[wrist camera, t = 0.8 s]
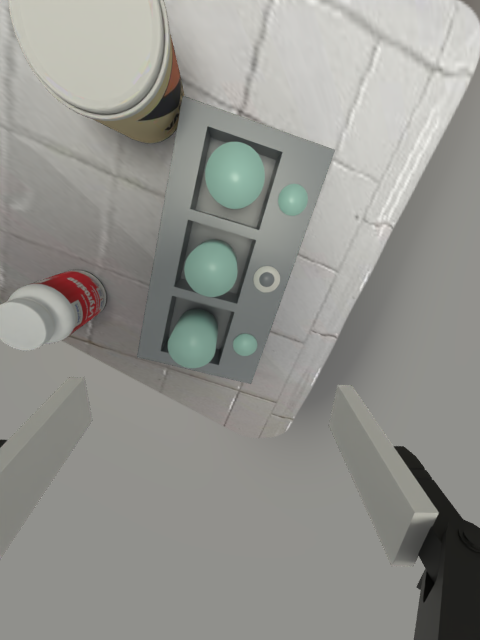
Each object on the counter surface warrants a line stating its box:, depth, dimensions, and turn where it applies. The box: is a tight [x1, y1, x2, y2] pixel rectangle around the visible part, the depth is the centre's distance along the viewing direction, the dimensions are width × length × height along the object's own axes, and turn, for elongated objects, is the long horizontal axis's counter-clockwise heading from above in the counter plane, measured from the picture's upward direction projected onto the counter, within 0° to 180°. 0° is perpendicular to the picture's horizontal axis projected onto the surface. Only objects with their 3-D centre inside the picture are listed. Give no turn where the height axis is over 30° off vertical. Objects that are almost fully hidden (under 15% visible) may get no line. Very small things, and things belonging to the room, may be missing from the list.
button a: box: [168, 309, 218, 368], centre depth 30 cm, size 5×5×5 cm
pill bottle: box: [0, 270, 106, 351], centre depth 29 cm, size 6×6×11 cm
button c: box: [205, 142, 265, 209], centre depth 24 cm, size 5×5×5 cm
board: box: [137, 96, 335, 384], centre depth 31 cm, size 14×26×5 cm, turn 164°
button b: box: [184, 239, 237, 297], centre depth 27 cm, size 5×5×5 cm
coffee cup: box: [8, 0, 184, 143], centre depth 22 cm, size 9×9×12 cm
